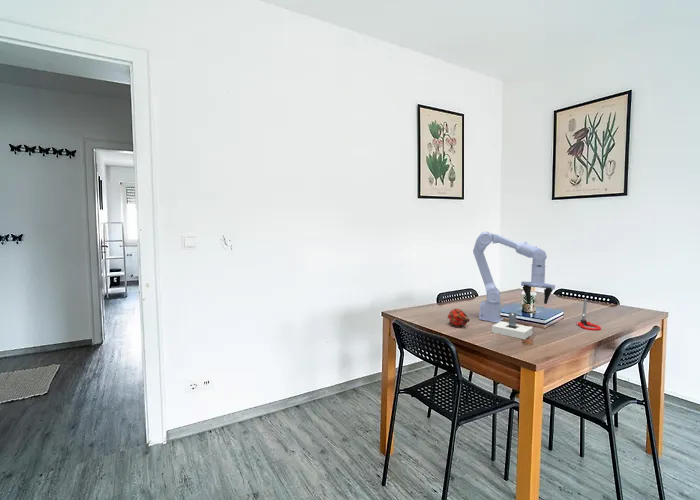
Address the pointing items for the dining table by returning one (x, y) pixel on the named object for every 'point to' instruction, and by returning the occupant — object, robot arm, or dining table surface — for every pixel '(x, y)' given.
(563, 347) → the dining table surface
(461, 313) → the dragon fruit
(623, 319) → the dining table surface
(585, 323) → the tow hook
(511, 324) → the peg
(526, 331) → the hole block
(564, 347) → the dining table surface
